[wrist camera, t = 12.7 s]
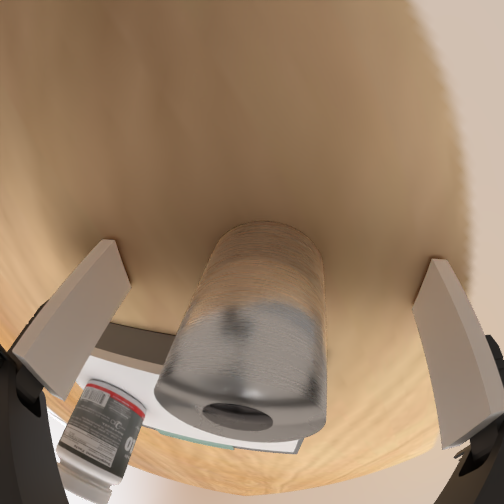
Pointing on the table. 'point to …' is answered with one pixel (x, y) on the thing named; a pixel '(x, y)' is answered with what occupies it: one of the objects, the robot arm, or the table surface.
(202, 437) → the kitchen scale
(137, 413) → the pill bottle
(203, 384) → the cylinder
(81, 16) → the table surface
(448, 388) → the robot arm
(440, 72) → the table surface
